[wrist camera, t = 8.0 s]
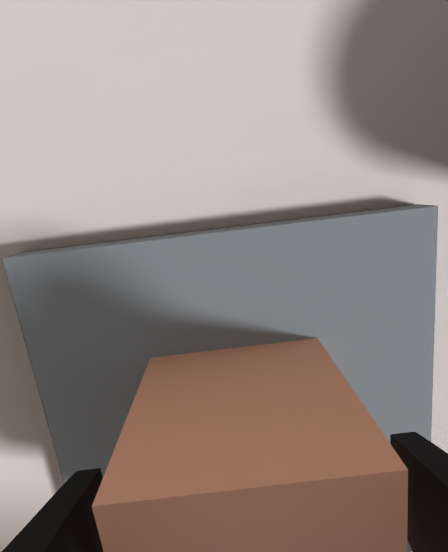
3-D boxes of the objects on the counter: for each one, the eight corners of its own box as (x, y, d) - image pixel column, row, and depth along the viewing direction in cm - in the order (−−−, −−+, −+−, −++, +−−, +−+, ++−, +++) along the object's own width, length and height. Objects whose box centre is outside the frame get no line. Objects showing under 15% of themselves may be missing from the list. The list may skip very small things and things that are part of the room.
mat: (412, 522, 13) (427, 548, 12) (101, 557, 13) (92, 586, 12) (417, 204, 10) (437, 206, 9) (21, 252, 10) (1, 258, 10)
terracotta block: (325, 477, 11) (405, 686, 7) (175, 494, 12) (146, 715, 7) (317, 338, 10) (408, 469, 5) (150, 357, 10) (92, 506, 5)
